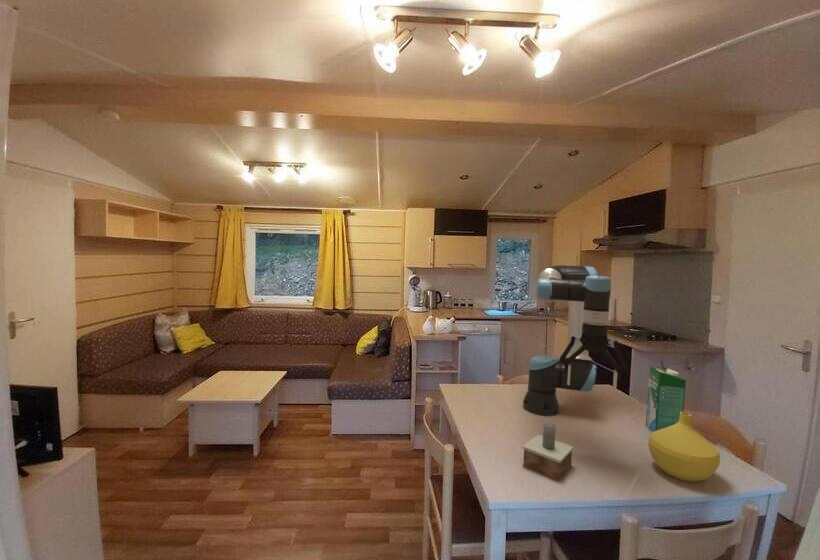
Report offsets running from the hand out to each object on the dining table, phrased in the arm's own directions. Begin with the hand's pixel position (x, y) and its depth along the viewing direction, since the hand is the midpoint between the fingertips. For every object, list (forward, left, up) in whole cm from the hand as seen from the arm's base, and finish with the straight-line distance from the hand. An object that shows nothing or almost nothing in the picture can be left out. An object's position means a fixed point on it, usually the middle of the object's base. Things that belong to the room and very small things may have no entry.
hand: (590, 387), depth 125 cm
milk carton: (+15, +44, -25) cm, 53 cm away
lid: (-7, -14, -19) cm, 25 cm away
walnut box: (-7, -14, -24) cm, 29 cm away
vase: (+24, +14, -25) cm, 37 cm away
